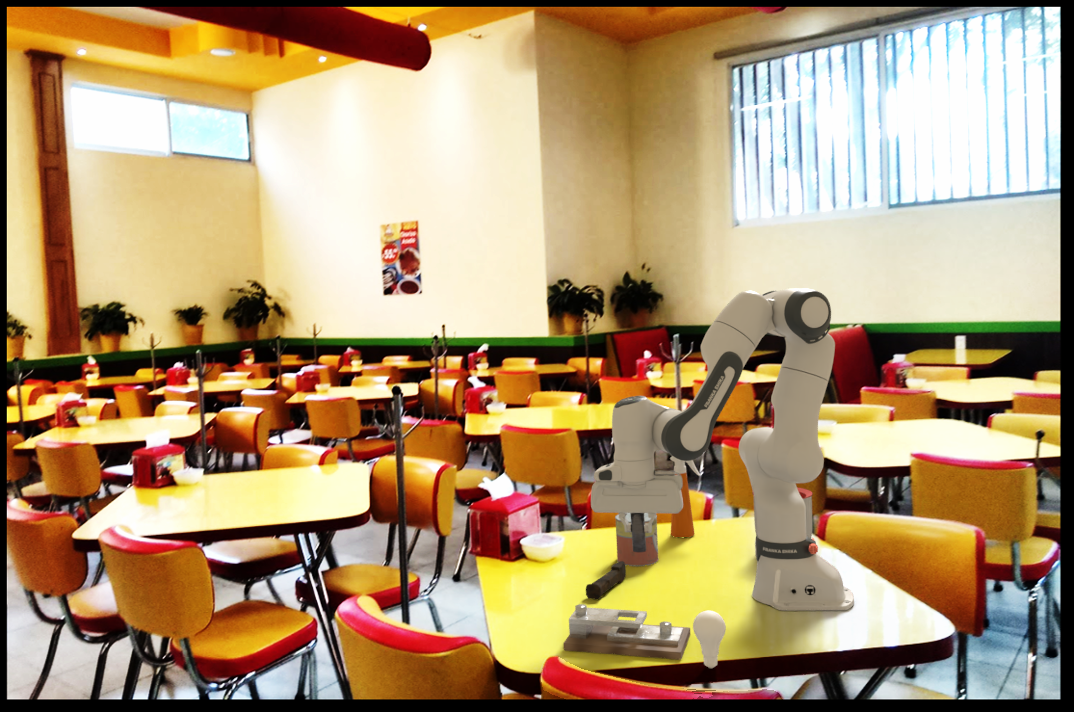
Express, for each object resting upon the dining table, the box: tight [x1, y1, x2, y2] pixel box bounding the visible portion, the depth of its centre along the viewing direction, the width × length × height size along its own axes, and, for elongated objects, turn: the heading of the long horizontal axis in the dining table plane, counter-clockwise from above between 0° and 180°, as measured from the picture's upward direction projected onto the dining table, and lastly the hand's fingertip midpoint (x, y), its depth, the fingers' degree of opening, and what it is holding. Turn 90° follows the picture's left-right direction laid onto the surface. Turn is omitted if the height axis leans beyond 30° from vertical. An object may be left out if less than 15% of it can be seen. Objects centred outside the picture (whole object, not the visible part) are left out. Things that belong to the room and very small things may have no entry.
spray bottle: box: [669, 455, 701, 538], centre depth 254 cm, size 7×11×26 cm, turn 42°
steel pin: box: [630, 513, 646, 552], centre depth 191 cm, size 3×3×8 cm
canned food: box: [614, 513, 660, 567], centre depth 234 cm, size 11×11×12 cm
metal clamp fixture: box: [568, 603, 683, 646], centre depth 178 cm, size 22×7×6 cm, turn 72°
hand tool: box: [585, 561, 627, 600], centre depth 213 cm, size 19×4×5 cm, turn 147°
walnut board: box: [563, 623, 691, 661], centre depth 179 cm, size 24×13×2 cm, turn 72°
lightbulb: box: [692, 610, 727, 669], centre depth 164 cm, size 6×6×11 cm
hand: (638, 532), depth 191 cm, fingers closed on steel pin, 3 cm apart
